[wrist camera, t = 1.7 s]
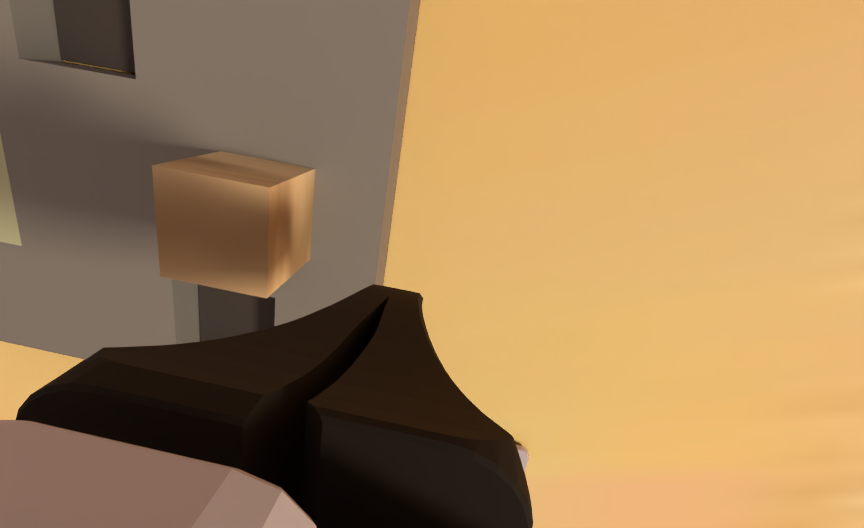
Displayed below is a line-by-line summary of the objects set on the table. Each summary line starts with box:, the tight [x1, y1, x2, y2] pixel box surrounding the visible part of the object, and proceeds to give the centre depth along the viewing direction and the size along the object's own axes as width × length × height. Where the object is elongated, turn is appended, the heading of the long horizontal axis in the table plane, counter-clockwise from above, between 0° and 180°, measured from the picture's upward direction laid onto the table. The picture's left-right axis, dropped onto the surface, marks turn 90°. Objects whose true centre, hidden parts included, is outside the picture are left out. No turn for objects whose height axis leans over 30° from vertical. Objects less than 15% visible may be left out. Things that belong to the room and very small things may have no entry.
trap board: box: [0, 0, 420, 359], centre depth 20 cm, size 20×22×2 cm
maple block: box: [152, 151, 315, 298], centre depth 17 cm, size 4×4×4 cm
